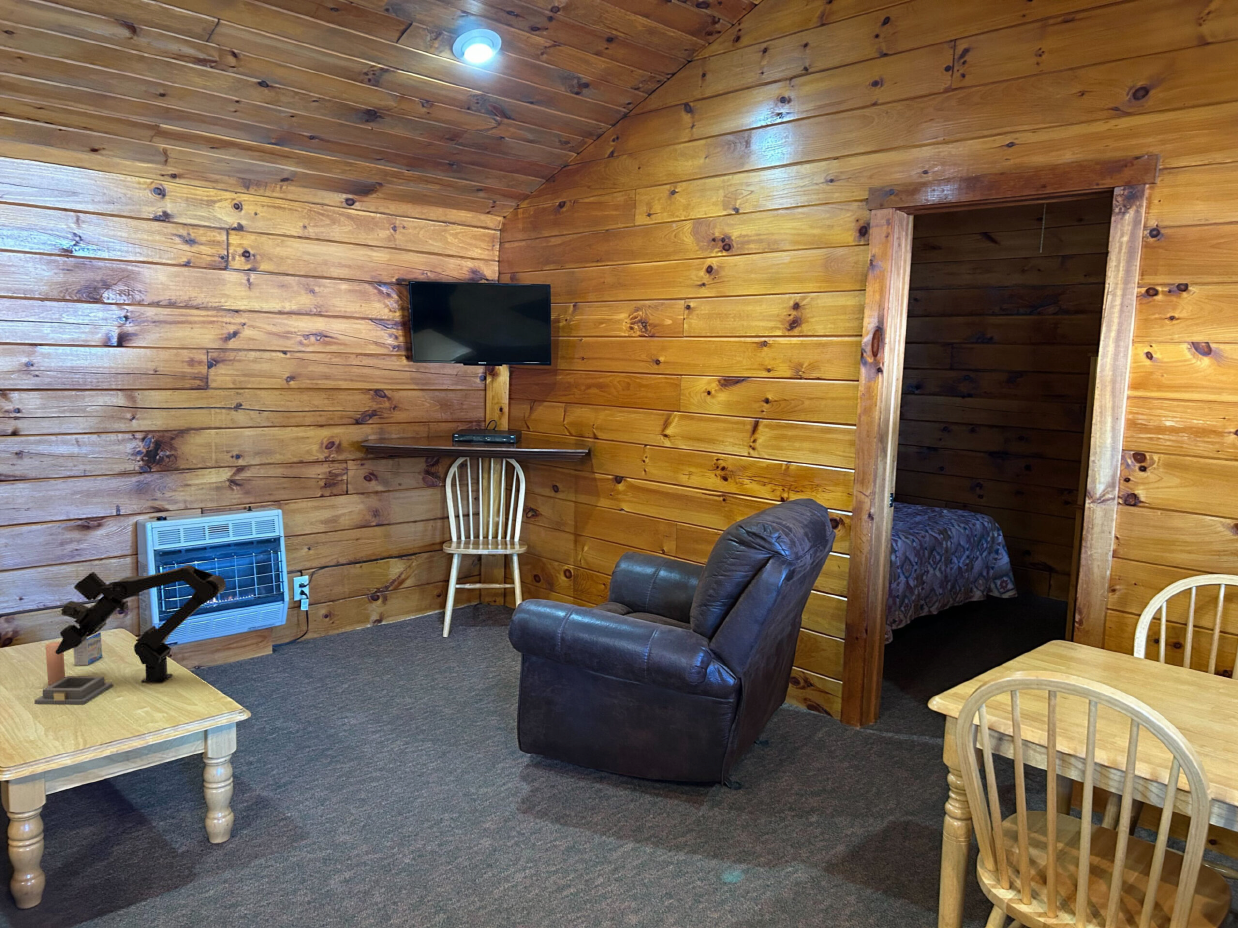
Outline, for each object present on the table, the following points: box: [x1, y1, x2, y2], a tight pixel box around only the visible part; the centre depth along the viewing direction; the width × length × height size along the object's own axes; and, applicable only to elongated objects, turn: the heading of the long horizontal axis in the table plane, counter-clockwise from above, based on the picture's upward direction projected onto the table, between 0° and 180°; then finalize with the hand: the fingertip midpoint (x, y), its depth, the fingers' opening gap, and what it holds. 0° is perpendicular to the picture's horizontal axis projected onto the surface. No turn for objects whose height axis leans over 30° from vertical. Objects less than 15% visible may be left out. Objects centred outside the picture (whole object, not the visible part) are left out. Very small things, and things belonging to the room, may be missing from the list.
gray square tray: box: [33, 675, 114, 705], centre depth 256 cm, size 14×14×4 cm
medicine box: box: [72, 631, 103, 666], centre depth 284 cm, size 8×4×9 cm, turn 179°
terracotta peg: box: [45, 641, 66, 686], centre depth 264 cm, size 4×4×12 cm
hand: (63, 648), depth 264 cm, fingers open, 9 cm apart
